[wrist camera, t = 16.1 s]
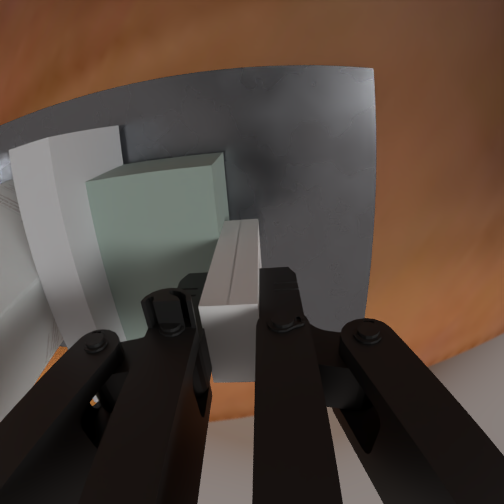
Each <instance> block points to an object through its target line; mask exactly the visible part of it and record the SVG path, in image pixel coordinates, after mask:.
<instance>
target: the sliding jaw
mask: <svg viewBox="0 0 504 504" xmlns="http://www.w3.org/2000/svg"><path fill="white" fill-rule="evenodd" d="M9 157H10V163H11V169H12V175H13V180H14V185H15V190H16V195H17V200H18V204H19V209H20V213H21V217H22V221H23V225H24V229H25V233H26V236H27V240H28V243H29V247H30V250H31V254H32V257H33V260H34V263H35V266H36V269H37V272H38V275H39V278H40V281H41V284H42V287H43V290H44V292H45V295H46V298H47V301H48V303H49V306H50V308H51V311H52V313H53V316H54V318H55V321H56V323H57V326H58V328H59V330H60V333H61V335H62V337H63V339H64V342H65V344H66V346H67V348H68V350H69V349H70V348H71V347H72V346H73V345H74V344H75V343H76V342H77V341H78V340H79V339H80V338H81V337H82V336H84V335H85V334H87V333H90V332H92V331H94V330H100V329H106V330H111V331H113V332H116V334H117V335H118V337H119V339H120V342H123V341H128V340H133V339H138V338H141V337H144V336H145V334H146V332H147V330H148V326H147V323H146V320H145V316H144V313H143V309H142V306H141V301H142V299H143V298H144V297H145V296H147V295H149V294H150V293H152V292H154V291H157V290H160V289H166V288H177V287H178V284H179V282H180V280H181V279H183V278H184V277H185V276H186V275H187V274H189V273H205V272H209V268H210V265H211V262H212V258H213V255H214V252H215V248H216V245H217V242H218V239H219V237H220V234H221V230H222V227H223V224H224V221H229V211H228V200H227V190H226V179H225V168H224V156H223V152H221V153H210V154H200V155H191V156H182V157H173V158H165V159H158V160H150V161H143V162H136V163H130V164H123V158H122V151H121V143H120V135H119V126H118V125H117V126H109V127H102V128H96V129H90V130H84V131H78V132H72V133H67V134H62V135H56V136H52V137H47V138H44V139H41V140H37V141H34V142H31V143H28V144H25V145H22V146H19V147H16V148H13V149H10V150H9ZM93 399H94V401H95V402H98V401H99V400H98V399H97V397H96V395H95V396H94V398H93Z"/></svg>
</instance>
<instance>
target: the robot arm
mask: <svg viewBox="0 0 504 504" xmlns="http://www.w3.org/2000/svg"><path fill="white" fill-rule="evenodd" d="M141 306H142V309H143V313H144V316H145V320H146V323H147V326H148V330H147V332H146V334H145V336H144V337H141V338H138V339H133V340H128V341H123V342H120V339H119V337H118V335H117V334H116V332H113V331H111V330H106V329H100V330H94V331H92V332H90V333H87V334H85V335H84V336H82V337H81V338H80V339H79V340H78V341H77V342H76V343H75V344H74V345H73V346H72V347H71V348H70V349H69V350H68V351H67V352H66V353H65V354H64V355H63V356H62V357H61V358H60V359H59V360H58V361H57V362H56V363H55V364H54V365H53V366H52V367H51V368H50V369H49V370H48V371H47V372H46V373H45V374H44V375H43V376H42V377H41V378H40V380H39V381H38V382H37V383H36V384H35V385H34V386H33V387H32V388H31V389H30V390H29V391H28V392H27V393H26V394H25V396H24V397H23V398H22V399H21V400H20V401H19V402H18V403H17V404H16V405H15V406H14V407H13V409H12V410H11V411H10V412H9V413H8V414H7V415H6V416H5V417H4V419H3V420H2V421H1V422H0V504H197V502H198V494H199V486H200V479H201V472H202V464H203V457H204V450H205V442H206V435H207V428H208V421H209V414H210V407H211V400H212V391H211V386H210V377H211V371H212V376H213V380H214V382H255V407H254V455H253V500H252V504H343V502H342V496H341V489H340V483H339V476H338V470H337V464H336V458H335V452H334V446H333V441H332V435H331V429H330V424H329V418H328V413H327V407H332V409H333V412H334V414H335V416H336V418H337V419H338V421H339V423H340V425H341V426H342V428H343V430H344V432H345V434H346V436H347V438H348V440H349V441H350V443H351V445H352V447H353V449H354V451H355V452H356V454H357V456H358V458H359V460H360V461H361V463H362V465H363V467H364V469H365V471H366V472H367V474H368V476H369V478H370V480H371V481H372V483H373V485H374V487H375V489H376V490H377V492H378V494H379V496H380V498H381V500H382V501H383V503H384V504H504V456H503V454H502V453H501V452H500V451H499V449H498V448H497V447H496V446H495V445H494V443H493V442H492V441H491V440H490V439H489V437H488V436H487V435H486V434H485V433H484V431H483V430H482V429H481V428H480V427H479V426H478V424H477V423H476V422H475V421H474V420H473V419H472V417H471V416H470V415H469V414H468V413H467V411H466V410H465V409H464V408H463V407H462V406H461V404H460V403H459V402H458V401H457V400H456V399H455V398H454V396H452V394H451V393H450V392H449V391H448V390H447V389H446V387H445V386H444V385H443V384H442V383H441V382H440V381H439V380H438V378H437V377H436V376H435V375H434V374H433V373H432V372H431V371H430V370H429V368H428V367H427V366H426V365H425V364H424V363H423V362H422V361H421V360H420V359H419V358H418V356H417V355H416V354H415V353H414V352H413V351H412V350H411V349H410V348H409V347H408V346H407V345H406V343H405V342H404V341H403V340H402V339H401V338H400V337H399V336H398V335H397V334H396V333H395V332H394V331H393V330H392V329H391V328H390V327H389V326H388V325H386V324H385V323H384V322H381V321H378V320H375V319H368V318H362V319H355V320H353V321H350V322H348V323H346V324H345V325H344V326H343V328H342V330H341V332H333V331H327V330H322V329H319V328H317V327H315V326H313V325H312V324H310V323H309V321H308V319H307V317H306V316H305V315H304V312H303V307H302V302H301V297H300V292H299V287H298V283H297V278H296V273H295V272H293V271H292V270H291V269H290V268H289V267H275V268H262V266H261V252H260V238H259V224H258V219H245V220H231V221H224V224H223V227H222V230H221V234H220V237H219V239H218V242H217V245H216V248H215V252H214V255H213V258H212V262H211V265H210V268H209V272H205V273H189V274H187V275H186V276H185V277H184V278H183V279H181V280H180V282H179V284H178V287H177V288H166V289H160V290H157V291H154V292H152V293H150V294H149V295H147V296H145V297H144V298H143V299H142V301H141ZM95 395H96V397H97V399H98V400H99V401H98V402H97V403H96V404H95V405H94V406H91V404H90V401H91V400H92V399H93V398H94V396H95Z"/></svg>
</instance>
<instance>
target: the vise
mask: <svg viewBox="0 0 504 504" xmlns="http://www.w3.org/2000/svg"><path fill="white" fill-rule="evenodd" d="M117 125H118V126H119V135H120V143H121V151H122V158H123V164H130V163H136V162H143V161H150V160H158V159H165V158H173V157H182V156H191V155H200V154H210V153H221V152H223V156H224V168H225V179H226V190H227V200H228V211H229V221H231V220H245V219H258V224H259V238H260V252H261V266H262V268H275V267H289V268H290V269H291V270H292V271H293V272H295V273H296V278H297V283H298V287H299V292H300V297H301V302H302V307H303V312H304V315H305V316H306V317H307V319H308V321H309V323H310V324H312V325H313V326H315V327H317V328H319V329H322V330H327V331H333V332H341V330H342V328H343V326H344V325H345V324H346V323H348V322H350V321H353V320H355V319H362V318H364V317H365V309H366V302H367V293H368V285H369V276H370V266H371V255H372V243H373V230H374V213H375V191H376V109H375V87H374V72H373V68H362V67H347V66H319V65H290V66H262V67H246V68H233V69H223V70H213V71H205V72H197V73H190V74H183V75H176V76H170V77H164V78H159V79H153V80H148V81H143V82H138V83H134V84H129V85H125V86H120V87H116V88H112V89H108V90H104V91H100V92H96V93H93V94H89V95H86V96H82V97H79V98H75V99H72V100H69V101H66V102H62V103H59V104H56V105H53V106H50V107H47V108H44V109H42V110H39V111H36V112H33V113H31V114H28V115H25V116H23V117H20V118H18V119H15V120H13V121H10V122H8V123H5V124H3V125H1V126H0V184H2V183H4V182H6V181H9V180H13V175H12V169H11V163H10V157H9V150H10V149H13V148H16V147H19V146H22V145H25V144H28V143H31V142H34V141H37V140H41V139H44V138H47V137H52V136H56V135H62V134H67V133H72V132H78V131H84V130H90V129H96V128H102V127H109V126H117ZM60 346H64V347H67V346H66V344H65V342H64V340H63V341H62V343H61V344H60Z"/></svg>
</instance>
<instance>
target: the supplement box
mask: <svg viewBox="0 0 504 504" xmlns="http://www.w3.org/2000/svg"><path fill="white" fill-rule="evenodd" d="M63 340H64V339H63V337H62V335H61V333H60V330H59V328H58V326H57V323H56V321H55V318H54V316H53V313H52V311H51V308H50V306H49V303H48V301H47V298H46V295H45V292H44V290H43V287H42V284H41V281H40V278H39V275H38V272H37V269H36V266H35V263H34V260H33V257H32V254H31V250H30V247H29V243H28V240H27V236H26V233H25V229H24V225H23V221H22V217H21V213H20V209H19V204H18V200H17V195H16V190H15V185H14V180H9V181H6V182H4V183H2V184H0V422H1V421H2V420H3V419H4V417H5V416H6V415H7V414H8V413H9V412H10V411H11V410H12V409H13V407H14V406H15V405H16V404H17V403H18V402H19V401H20V400H21V399H22V398H23V397H24V396H25V394H26V393H27V392H28V391H29V390H30V389H31V388H32V387H33V385H34V384H35V382H36V381H37V379H38V377H39V376H40V374H41V373H42V371H43V370H44V368H45V367H46V365H47V364H48V362H49V361H50V359H51V358H52V356H53V355H54V353H55V352H56V350H57V349H58V347H59V346H60V344H61V343H62V341H63Z"/></svg>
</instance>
